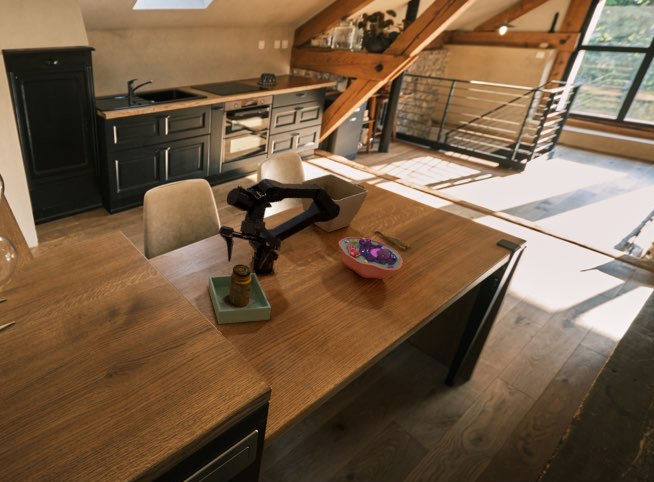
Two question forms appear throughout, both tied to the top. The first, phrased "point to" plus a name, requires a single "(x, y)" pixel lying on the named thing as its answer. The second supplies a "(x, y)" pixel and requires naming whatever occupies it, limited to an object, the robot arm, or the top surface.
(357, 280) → the top surface
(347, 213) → the flower pot
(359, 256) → the cell model
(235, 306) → the condiment
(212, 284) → the tray
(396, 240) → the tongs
